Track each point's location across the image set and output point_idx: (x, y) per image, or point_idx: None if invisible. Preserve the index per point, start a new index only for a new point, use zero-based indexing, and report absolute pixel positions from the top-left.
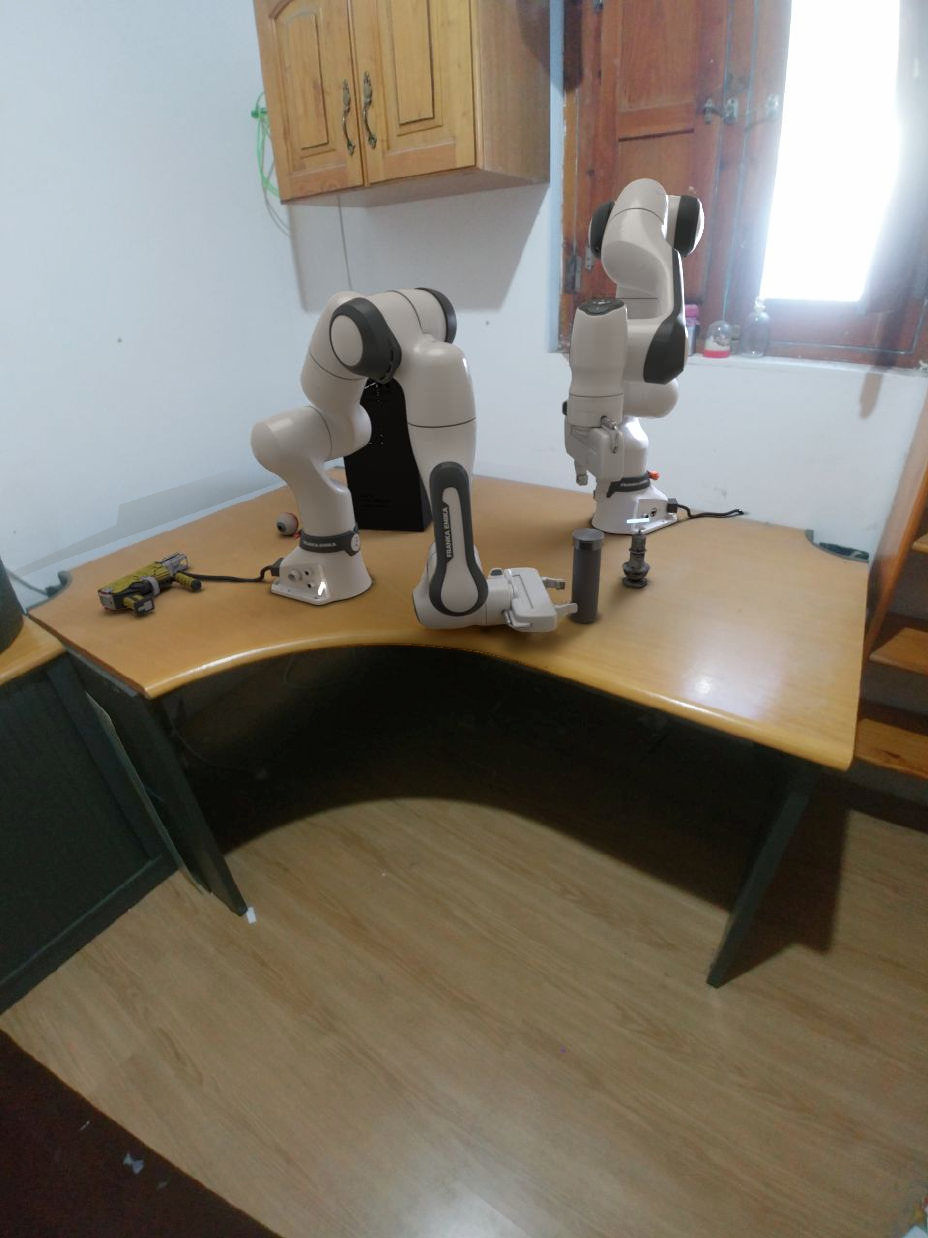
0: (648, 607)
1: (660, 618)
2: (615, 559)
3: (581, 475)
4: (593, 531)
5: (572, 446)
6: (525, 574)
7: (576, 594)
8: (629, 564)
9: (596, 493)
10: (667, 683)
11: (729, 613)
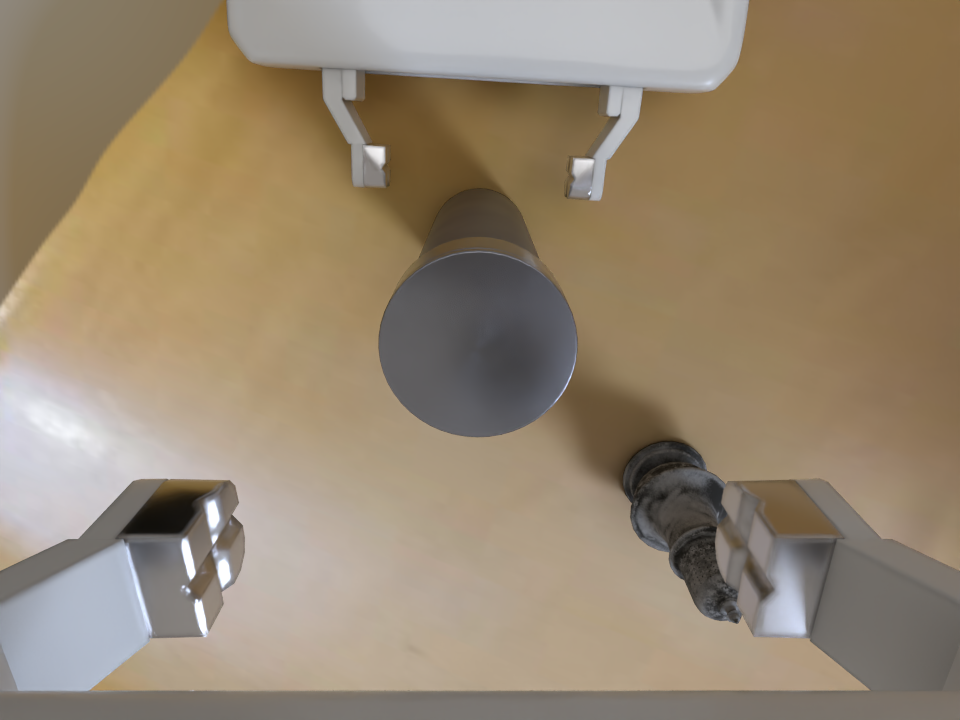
0: (489, 454)
1: (416, 460)
2: (853, 480)
3: (797, 576)
4: (513, 392)
5: None
6: (668, 7)
7: (448, 212)
8: (682, 495)
9: (84, 532)
10: (70, 344)
11: (405, 624)
